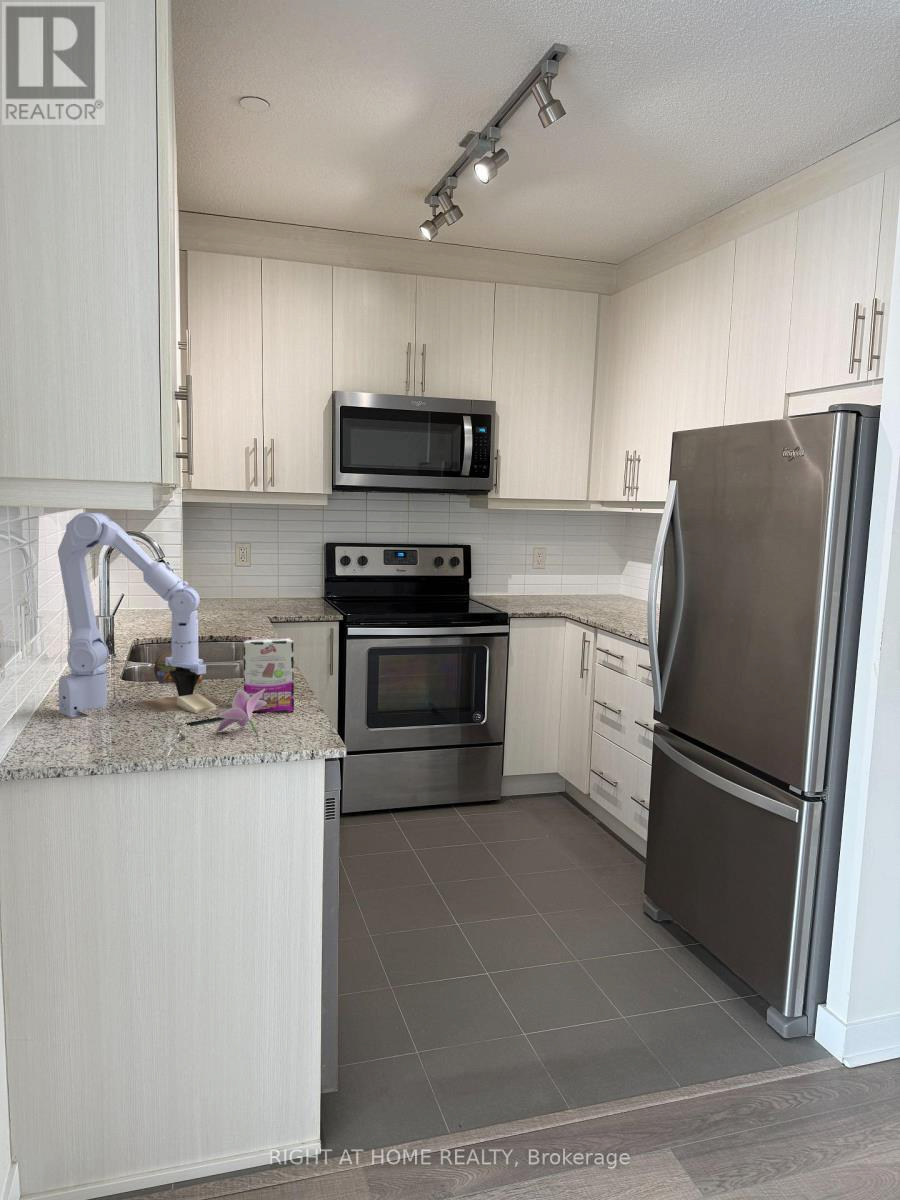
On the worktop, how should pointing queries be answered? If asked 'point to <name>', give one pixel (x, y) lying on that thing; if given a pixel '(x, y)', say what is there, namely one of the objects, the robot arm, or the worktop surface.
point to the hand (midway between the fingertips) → (185, 701)
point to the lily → (241, 709)
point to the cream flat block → (195, 703)
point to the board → (168, 703)
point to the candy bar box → (270, 672)
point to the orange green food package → (166, 670)
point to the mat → (205, 721)
